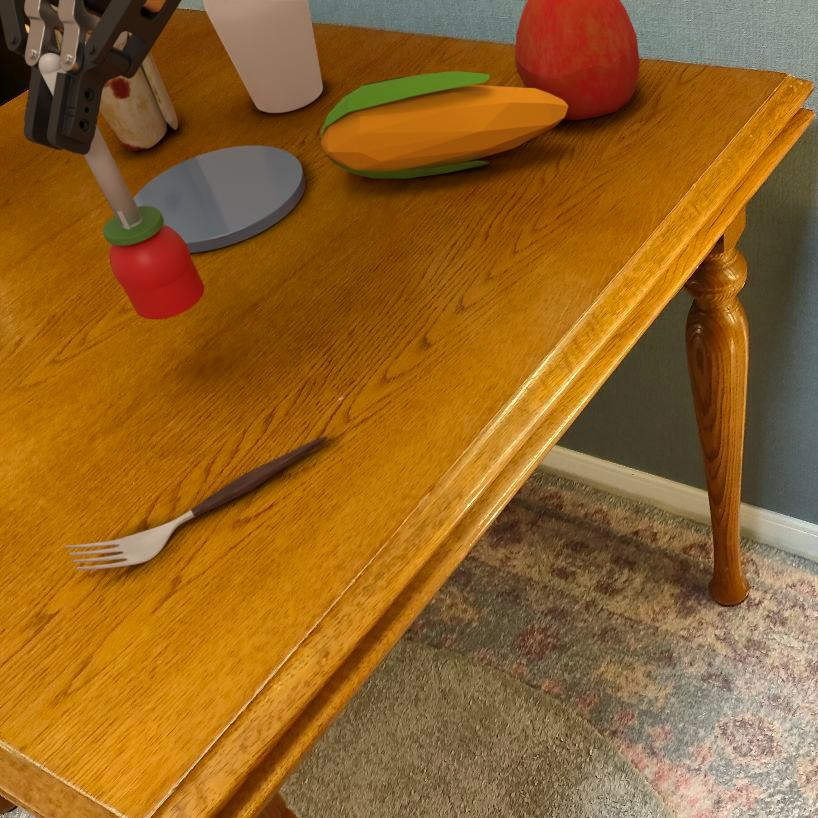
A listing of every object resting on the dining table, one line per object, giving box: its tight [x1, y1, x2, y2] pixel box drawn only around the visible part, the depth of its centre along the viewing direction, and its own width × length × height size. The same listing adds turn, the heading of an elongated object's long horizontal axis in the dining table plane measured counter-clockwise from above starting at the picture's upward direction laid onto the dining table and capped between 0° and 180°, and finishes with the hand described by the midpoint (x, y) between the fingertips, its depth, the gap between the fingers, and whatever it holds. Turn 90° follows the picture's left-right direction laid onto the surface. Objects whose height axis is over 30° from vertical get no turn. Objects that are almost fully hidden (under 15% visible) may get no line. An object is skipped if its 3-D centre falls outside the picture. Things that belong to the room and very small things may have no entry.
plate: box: [133, 144, 307, 254], centre depth 84 cm, size 15×15×1 cm
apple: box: [514, 0, 641, 121], centre depth 82 cm, size 10×10×10 cm
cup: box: [202, 0, 324, 114], centre depth 91 cm, size 9×9×12 cm
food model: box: [51, 5, 179, 152], centre depth 87 cm, size 10×7×20 cm
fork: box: [65, 436, 328, 571], centre depth 59 cm, size 3×16×2 cm, turn 125°
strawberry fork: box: [39, 53, 205, 321], centre depth 59 cm, size 5×5×16 cm
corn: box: [319, 70, 568, 180], centre depth 79 cm, size 7×8×20 cm
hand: (55, 146), depth 55 cm, fingers closed on strawberry fork, 1 cm apart
